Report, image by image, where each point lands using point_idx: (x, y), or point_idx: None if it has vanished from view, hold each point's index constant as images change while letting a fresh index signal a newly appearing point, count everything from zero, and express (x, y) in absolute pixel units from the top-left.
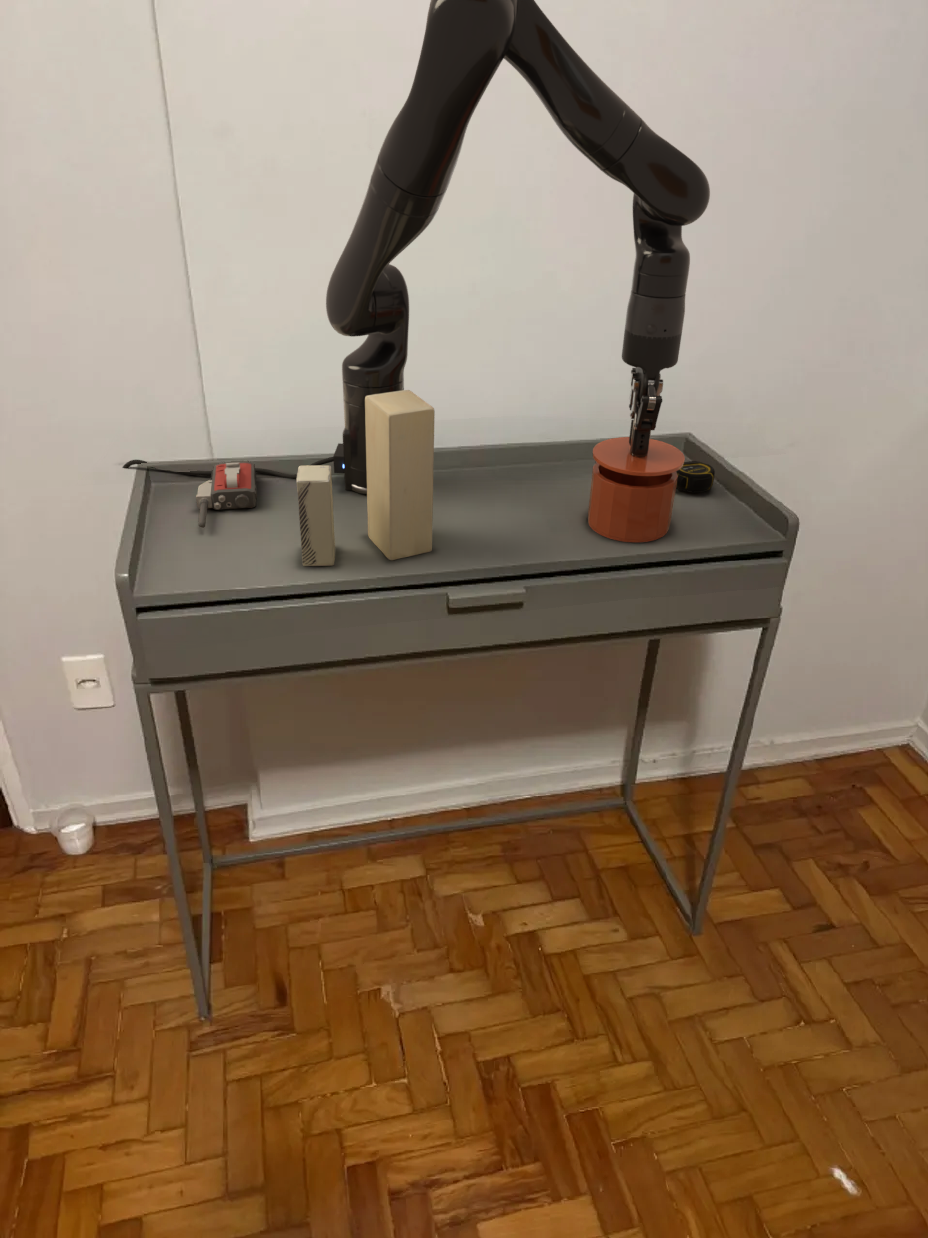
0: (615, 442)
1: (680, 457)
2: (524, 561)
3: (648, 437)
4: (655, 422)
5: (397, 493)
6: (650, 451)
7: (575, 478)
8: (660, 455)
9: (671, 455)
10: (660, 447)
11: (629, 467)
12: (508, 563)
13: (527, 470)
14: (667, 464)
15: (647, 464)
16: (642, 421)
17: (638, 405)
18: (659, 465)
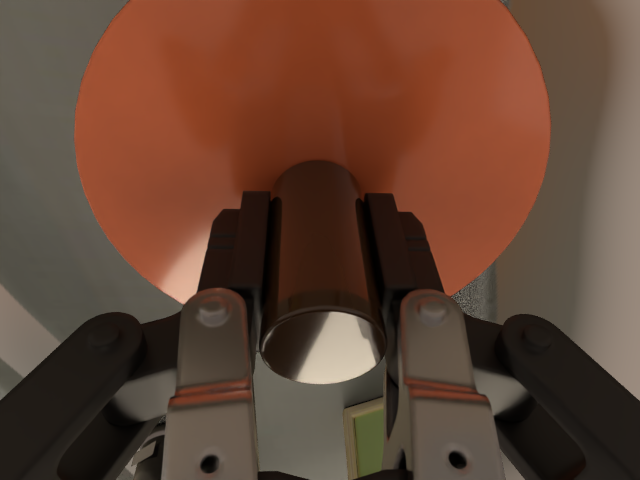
0: (188, 268)
1: None
2: (476, 287)
3: (409, 258)
4: (618, 387)
5: None
6: (278, 139)
7: (16, 177)
8: (334, 95)
9: (332, 25)
10: (208, 74)
11: (472, 248)
12: (478, 307)
13: (23, 275)
14: (469, 78)
15: (449, 176)
16: (520, 416)
17: (161, 399)
18: (476, 124)
